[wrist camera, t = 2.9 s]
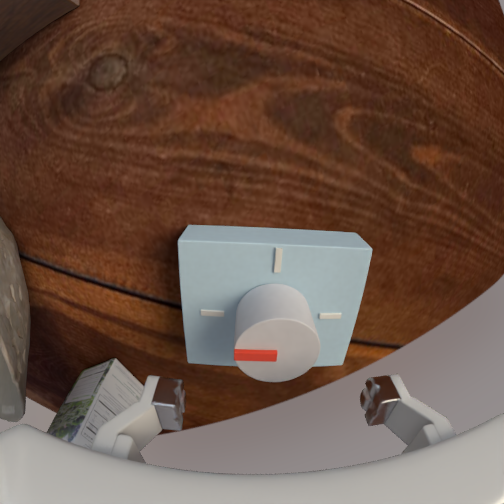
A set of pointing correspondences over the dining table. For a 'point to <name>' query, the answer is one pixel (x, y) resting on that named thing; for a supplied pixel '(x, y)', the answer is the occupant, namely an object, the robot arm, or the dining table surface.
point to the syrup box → (95, 402)
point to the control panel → (268, 272)
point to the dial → (275, 334)
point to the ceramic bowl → (12, 329)
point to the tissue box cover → (27, 19)
